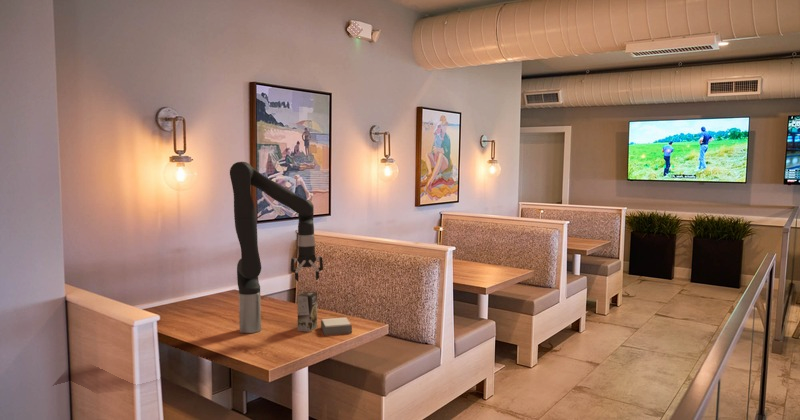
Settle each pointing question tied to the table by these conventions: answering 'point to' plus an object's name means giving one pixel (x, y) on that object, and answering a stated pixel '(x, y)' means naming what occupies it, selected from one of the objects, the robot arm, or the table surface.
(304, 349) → the table surface
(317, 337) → the table surface
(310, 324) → the coffee box
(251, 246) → the robot arm
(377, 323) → the table surface
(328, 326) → the pedestal
